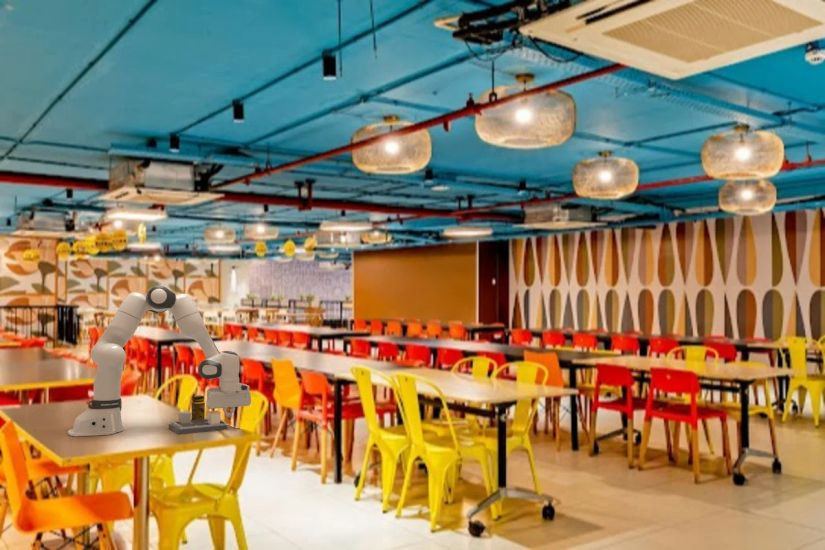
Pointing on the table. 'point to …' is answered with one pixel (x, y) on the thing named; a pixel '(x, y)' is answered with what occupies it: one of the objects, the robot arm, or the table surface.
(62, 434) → the table surface
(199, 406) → the condiment
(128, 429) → the table surface
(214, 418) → the fader
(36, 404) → the table surface
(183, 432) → the grey tray
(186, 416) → the block
